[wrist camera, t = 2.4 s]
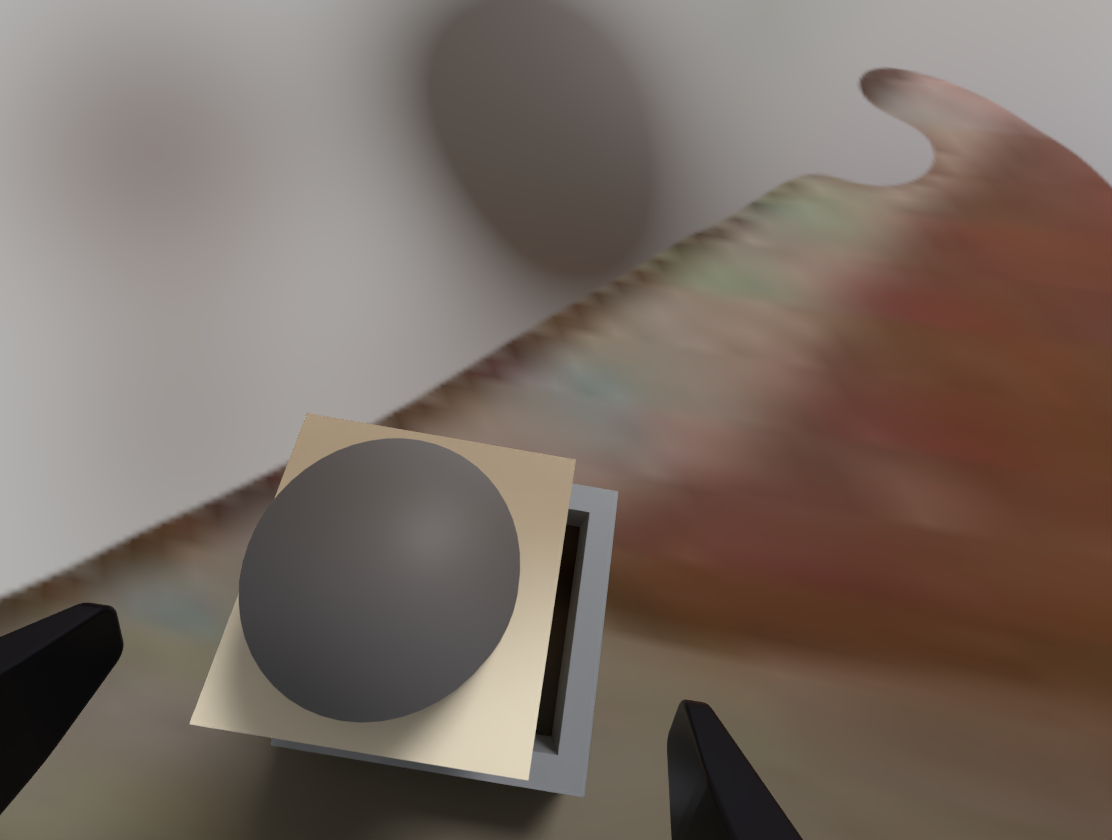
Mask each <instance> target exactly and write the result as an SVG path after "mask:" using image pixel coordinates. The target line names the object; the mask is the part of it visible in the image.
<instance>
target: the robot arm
mask: <svg viewBox="0 0 1112 840" xmlns="http://www.w3.org/2000/svg"><path fill="white" fill-rule="evenodd" d="M123 645H124V644H123V638H122V634H121V629H120V625H119V620H118V616H117V612H116V610H115V609H114V608H113V607H112V606H109V605H102V604H96V603H89V602H88V603H81V604H78V605H75V606H72V607H70V608H68V609H65V610H63V611H61V612H58V613H56V614H53V615H51V616H49V617H46V618H44V619H42V620H39V621H37V622H34V623H32V624H30V625H27V626H25V627H23V628H20V629H18V630H15V631H13V632H11V633H8V634H6V635H3V636H1V637H0V815H1V813H2V812H3V811H4V810H5V809H6V808H7V806H8V805H9V804H10V803H11V802H12V800H13V799H14V798H15V797H16V796H17V795H18V793H19V792H20V791H21V790H22V789H23V787H24V786H25V785H26V784H27V783H28V782H29V780H30V779H31V778H32V777H33V775H34V774H35V773H36V772H37V771H38V769H39V768H40V767H41V766H42V764H43V763H44V762H45V761H46V759H47V758H48V757H49V755H50V754H51V753H52V751H53V750H54V749H55V747H56V746H57V745H58V743H59V742H60V741H61V739H62V738H63V736H64V735H65V734H66V732H67V731H68V730H69V728H70V727H71V725H72V724H73V723H74V721H75V720H76V718H77V717H78V716H79V714H80V713H81V712H82V710H83V709H84V707H85V706H86V705H87V703H88V702H89V700H90V699H91V698H92V696H93V695H94V694H95V692H96V691H97V689H98V688H99V687H100V685H101V684H102V682H103V681H104V680H105V678H106V677H107V676H108V674H109V673H110V671H111V670H112V669H113V667H114V666H115V664H116V663H117V661H118V660H119V658H120V656H121V654H122V651H123ZM667 758H668V777H669V797H670V816H671V836H672V840H803V839H802V838H801V836H800V835H799V833H798V832H797V830H796V829H795V828H794V826H793V825H792V823H791V822H790V820H789V819H788V817H787V816H786V815H785V813H784V812H783V810H782V809H781V807H780V806H779V805H778V803H777V802H776V800H775V799H774V797H773V796H772V794H771V793H770V792H769V790H768V789H767V787H766V786H765V784H764V783H763V782H762V780H761V779H760V777H759V776H758V774H757V773H756V771H755V770H754V769H753V767H752V766H751V764H750V763H749V761H748V760H747V759H746V757H745V756H744V754H743V753H742V751H741V750H740V748H739V747H738V746H737V744H736V743H735V741H734V740H733V738H732V737H731V735H730V734H729V733H728V731H727V730H726V728H725V727H724V725H723V724H722V723H721V721H720V720H719V718H718V717H717V715H716V714H715V712H714V711H713V710H712V708H711V707H710V706H709V705H708V704H706V703H703V702H698V701H692V700H683V701H681V702H680V704H679V706H678V709H677V712H676V714H675V717H674V720H673V723H672V725H671V728H670V731H669V734H668V740H667Z"/></svg>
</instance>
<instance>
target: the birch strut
mask: <svg viewBox="0 0 1112 840" xmlns="http://www.w3.org/2000/svg"><path fill="white" fill-rule="evenodd" d="M575 462H576V460H575V459H569V458H563V457H558V456H552V455H546V454H540V453H535V452H529V451H523V450H517V449H511V448H506V447H500V446H494V445H488V444H482V443H477V442H471V441H465V440H459V439H454V438H448V437H442V436H436V435H430V434H425V433H419V432H413V431H407V430H402V429H396V428H390V427H384V426H378V425H373V424H367V423H361V422H355V421H349V420H344V419H337V418H332V417H326V416H320V415H315V414H309V413H307V414H306V417H305V420H304V422H303V425H302V428H301V430H300V433H299V435H298V438H297V441H296V444H295V446H294V449H293V452H292V454H291V457H290V459H289V462H288V465H287V467H286V470H285V472H284V475H283V478H282V480H281V483H280V486H279V488H278V491H277V494H276V496H275V499H274V500H273V502H272V503H271V504H270V505H269V507H268V508H267V509H266V511H265V513H264V514H263V516H262V518H261V519H260V521H259V523H258V524H257V526H256V528H255V530H254V533H253V535H252V537H251V539H250V541H249V544H248V547H247V550H246V553H245V557H244V560H243V564H242V569H241V575H240V580H239V594H238V597H237V599H236V602H235V605H234V607H233V610H232V613H231V615H230V618H229V621H228V623H227V626H226V629H225V631H224V634H223V636H222V639H221V642H220V644H219V647H218V650H217V652H216V655H215V658H214V660H213V663H212V666H211V668H210V671H209V674H208V676H207V679H206V681H205V684H204V687H203V689H202V692H201V695H200V697H199V700H198V703H197V705H196V708H195V711H194V713H193V716H192V718H191V721H190V724H191V725H197V726H203V727H209V728H215V729H221V730H227V731H233V732H239V733H245V734H251V735H257V736H263V737H269V738H275V739H281V740H287V741H293V742H299V743H305V744H311V745H317V746H323V747H329V748H335V749H341V750H347V751H353V752H359V753H365V754H371V755H377V756H383V757H390V758H396V759H402V760H408V761H414V762H420V763H426V764H432V765H438V766H444V767H450V768H456V769H462V770H468V771H474V772H480V773H486V774H492V775H498V776H504V777H510V778H516V779H522V780H528V779H529V773H530V766H531V759H532V752H533V746H534V739H535V732H536V725H537V718H538V712H539V705H540V698H541V691H542V685H543V678H544V671H545V664H546V658H547V651H548V644H549V637H550V631H551V624H552V617H553V610H554V604H555V597H556V590H557V583H558V576H559V570H560V563H561V556H562V549H563V543H564V536H565V529H566V522H567V516H568V509H569V502H570V495H571V489H572V482H573V475H574V468H575Z"/></svg>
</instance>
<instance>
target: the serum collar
mask: <svg viewBox="0 0 1112 840" xmlns="http://www.w3.org/2000/svg"><path fill="white" fill-rule="evenodd" d="M617 499H618V491H612V490H607V489H601V488H595V487H589V486H583V485H578V484H572V489H571V495H570V502H569V509H568V516H567V522H566V525H570V526H576V527H580V531H579V539H578V546H577V553H576V561H575V568H574V575H573V583H572V590H571V597H570V604H569V612H568V619H567V626H566V634H565V641H564V648H563V656H562V663H561V670H560V677H559V685H558V692H557V699H556V707H555V714H554V721H553V729H552V736H545V735H539V734H535V739H534V746H533V752H532V759H531V766H530V773H529V779H528V780H522V779H516V778H510V777H504V776H498V775H492V774H486V773H480V772H474V771H468V770H462V769H456V768H450V767H444V766H438V765H432V764H426V763H420V762H414V761H408V760H402V759H396V758H390V757H383V756H377V755H371V754H365V753H359V752H353V751H347V750H341V749H335V748H329V747H323V746H317V745H311V744H305V743H299V742H293V741H287V740H281V739H275V738H272V740H271V743H270V745H271V746H277V747H283V748H289V749H295V750H301V751H307V752H313V753H319V754H325V755H331V756H337V757H343V758H349V759H355V760H361V761H367V762H373V763H379V764H385V765H391V766H397V767H403V768H410V769H416V770H422V771H428V772H434V773H440V774H446V775H452V776H458V777H464V778H470V779H476V780H482V781H488V782H494V783H500V784H506V785H512V786H518V787H524V788H530V789H536V790H542V791H548V792H554V793H560V794H566V795H572V796H578V797H584V796H585V787H586V778H587V769H588V760H589V751H590V742H591V733H592V724H593V715H594V706H595V697H596V688H597V679H598V670H599V661H600V652H601V643H602V634H603V625H604V616H605V607H606V598H607V589H608V580H609V571H610V562H611V553H612V544H613V535H614V526H615V517H616V508H617Z"/></svg>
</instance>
